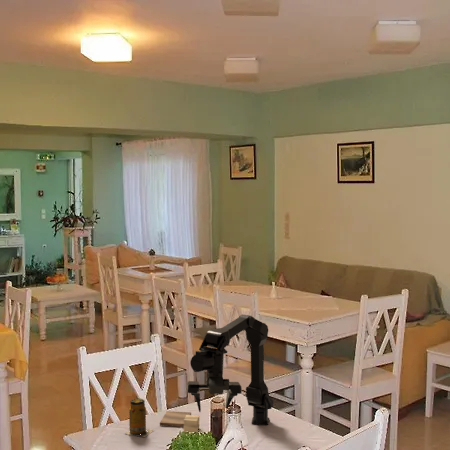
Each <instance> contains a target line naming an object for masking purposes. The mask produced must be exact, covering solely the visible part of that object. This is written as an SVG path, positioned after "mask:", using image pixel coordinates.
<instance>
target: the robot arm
mask: <svg viewBox="0 0 450 450" xmlns="http://www.w3.org/2000/svg"><path fill="white" fill-rule="evenodd" d="M243 331H244V332H245V338H246V339H247V341H248V343H249V344H250V383H249V385H248V386H246V387H245V397H246V400H247V404H248V405H247V406H249V407H252V410H253V411H252V412H253V413H252V415H253V416H252V420H251V424H252V425H262V426H264V425H265V426H268V425H269V424H270V423H269V422H270V417H269V410H271V409H272V407H273V406H274V402H275V401H274V399H272V397H271V396H270V393H269V388H268V386H267V384H266V382H265V370H264V369H265V366H264V365H265V364H264V363H265V361H264V345H265V343H266V341H267V340H268V335H269V326H268V325H267V323H266V322H262V321H260V320H258V319H256V318H255V317H254V316H252V315H249V314H240V315H239V316H238V317H237V318H236V319H234V320H232V321H231V322H229V323H228V324H226V325H224V326H222V327H219V328H213V329H209V330H208V331H207V332H206V333H205V336H204V338H203V340H202V342H201V344H200V347H198V348H199V349H198V350H197V351H195V354H194V355H193V356H192V357H191V358H190V360H189V361H190V364H189V365H190V367H191V369H192V371H194V372H196V373H200V372H203V371H206V376H205V378H206V379H205V380H206V382H205V383H203V384H202V383H201V384H200V383H199V381H198V380H192V381H191V380H188V381H187V383H186V392H187V393H188V394H190V395H191V396H194V398H195V400H196V404H197V409H198V412H199V413H201V411H202V410H201V409H202V407H201V393H200V391H208V393H209V395H217V394H218V395H223V394H224V391H226V398H225V406H224V409H225V408H227V407H228V406H229V407H230V405H231V402H232V401H233V399H234V397H237V396H238V394H239V395H240V394H242V385H241V383H240V382H239V381H230V379H229V378H224V377H223V376H224V358H225V357H224V356H225V355H226V354H228V350H227V349H226V347H227V346H229V344H230V342H231V339H232V338H234V337H235V336H237V335H238V334H241V332H243ZM224 354H225V355H224Z"/></svg>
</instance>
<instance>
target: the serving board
mask: <svg viewBox="0 0 450 450" xmlns="http://www.w3.org/2000/svg"><path fill="white" fill-rule="evenodd" d="M186 415H192V412H191V411H189V412H188V411H170V410H169V411H168V410H167V411H166V412H165V414H164V415H163V416H162V418H161V420H160V421H159V426H160V427H177V428H184V419H185V417H186Z"/></svg>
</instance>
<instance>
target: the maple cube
mask: <svg viewBox="0 0 450 450" xmlns="http://www.w3.org/2000/svg"><path fill="white" fill-rule="evenodd" d="M198 429H199V430H200V415H193V414H191V415H186V417H185V419H184V427H183V432H184V431H188V432H199V430H198Z"/></svg>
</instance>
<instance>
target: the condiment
mask: <svg viewBox="0 0 450 450" xmlns="http://www.w3.org/2000/svg"><path fill="white" fill-rule="evenodd" d="M145 402H146V401H145V399H143V398H133V399H131V400H130V402H129V404H130V405H129V406H130V407H129V411H128V413H129V417H128V418H129V419H128V420H129V424H128V425H129V428H128V429H129V431H130V432H128V431H126V432H125V433H124V434H125V435H128V436H135V437H136V436H137V437H143V438H145V437H147V436H149V435H150V434H151V433H152V432H154V431H155V430H154V429H150V428H147V426H146V425H147V420H146V416H147V411H146V409H147V408H146V406H145V405H146V404H145ZM146 430H147V431H148V432H147V431H146ZM140 434H141V435H140Z"/></svg>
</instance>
